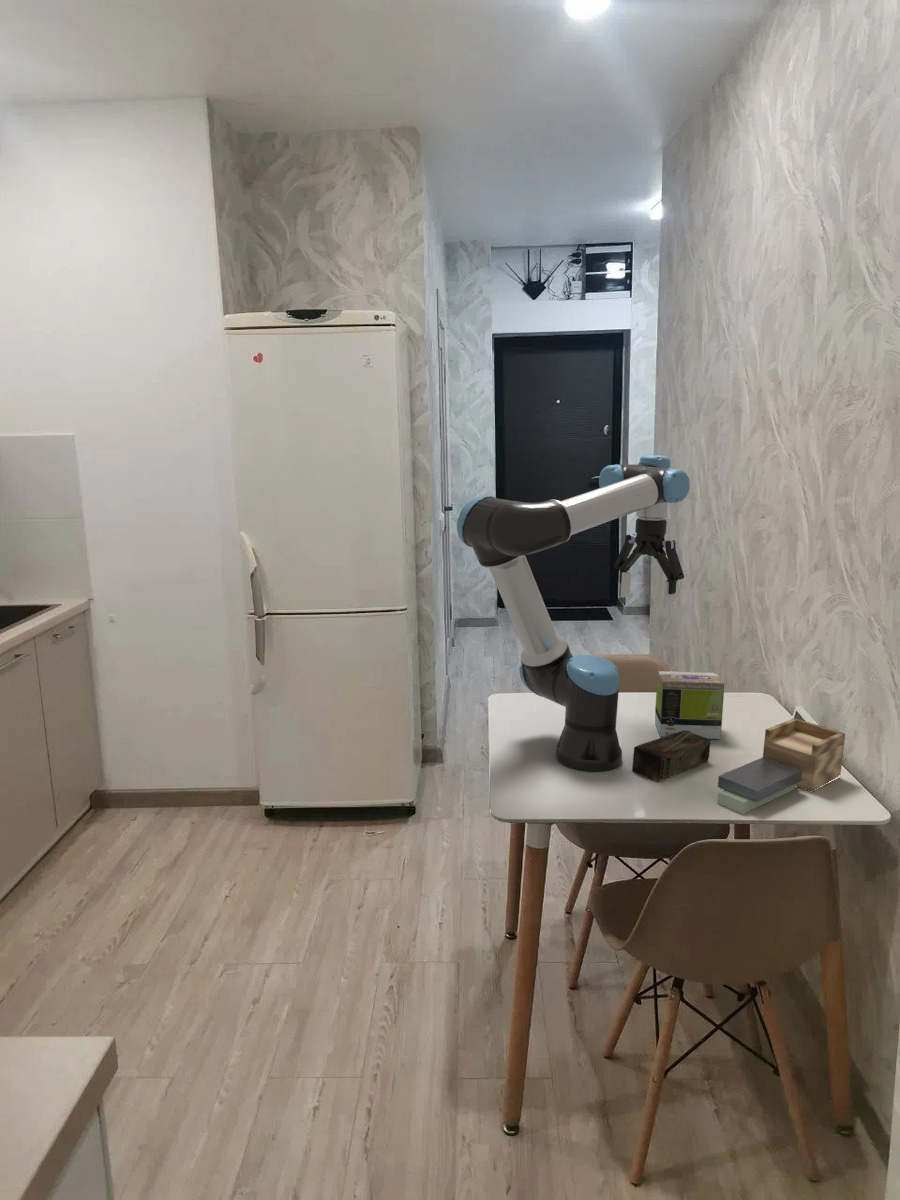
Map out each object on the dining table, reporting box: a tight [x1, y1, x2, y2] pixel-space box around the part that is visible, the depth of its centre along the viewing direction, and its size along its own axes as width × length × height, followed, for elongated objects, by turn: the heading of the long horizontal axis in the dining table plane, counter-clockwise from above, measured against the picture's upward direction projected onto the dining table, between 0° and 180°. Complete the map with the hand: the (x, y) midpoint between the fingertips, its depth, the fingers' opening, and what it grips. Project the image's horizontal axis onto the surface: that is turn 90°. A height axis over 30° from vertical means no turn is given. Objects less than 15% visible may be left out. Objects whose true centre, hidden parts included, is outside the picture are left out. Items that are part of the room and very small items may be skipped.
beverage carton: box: [631, 730, 712, 783], centre depth 195 cm, size 8×19×7 cm, turn 129°
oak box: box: [762, 717, 846, 792], centre depth 191 cm, size 12×12×10 cm
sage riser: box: [717, 783, 797, 815], centre depth 181 cm, size 20×6×2 cm, turn 129°
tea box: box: [654, 670, 725, 740], centre depth 216 cm, size 15×10×15 cm, turn 84°
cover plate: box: [717, 756, 802, 802], centre depth 181 cm, size 17×9×2 cm, turn 129°
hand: (645, 601), depth 218 cm, fingers open, 13 cm apart
